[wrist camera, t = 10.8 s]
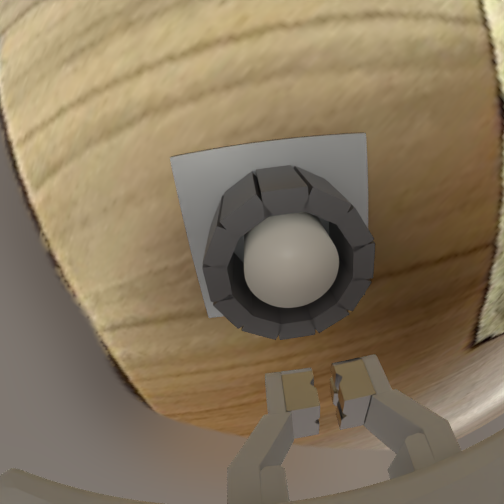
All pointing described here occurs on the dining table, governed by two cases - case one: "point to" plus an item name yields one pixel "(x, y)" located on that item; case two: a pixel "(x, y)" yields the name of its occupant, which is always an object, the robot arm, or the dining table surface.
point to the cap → (289, 260)
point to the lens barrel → (273, 204)
